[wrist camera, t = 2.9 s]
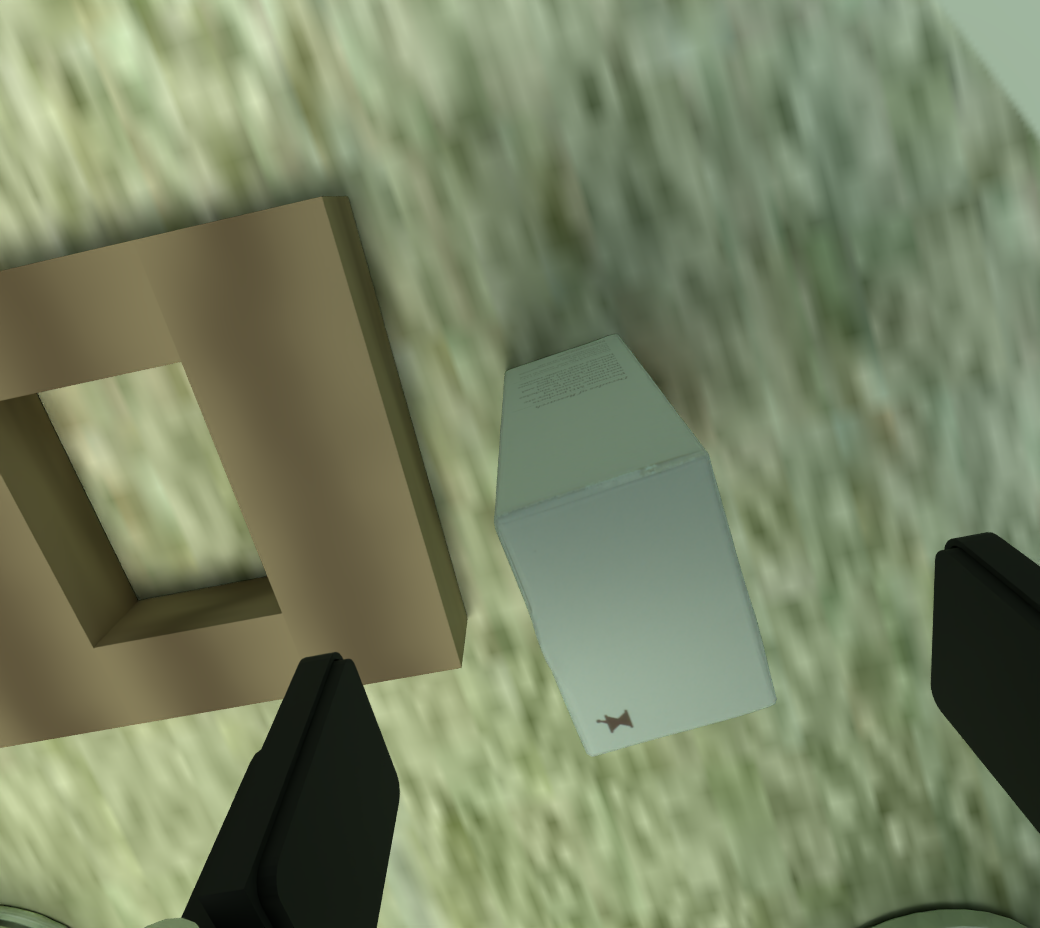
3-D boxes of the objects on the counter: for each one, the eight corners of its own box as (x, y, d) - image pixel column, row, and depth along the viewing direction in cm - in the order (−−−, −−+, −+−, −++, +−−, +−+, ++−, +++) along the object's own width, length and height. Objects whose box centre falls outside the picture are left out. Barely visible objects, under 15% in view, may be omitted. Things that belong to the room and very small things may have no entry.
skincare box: (666, 481, 25) (785, 714, 14) (556, 516, 25) (583, 769, 14) (619, 324, 23) (715, 449, 12) (499, 366, 23) (481, 523, 12)
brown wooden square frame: (347, 196, 21) (322, 196, 18) (467, 619, 27) (461, 667, 24) (-170, 316, 23) (-268, 332, 20) (48, 693, 28) (-3, 748, 26)
